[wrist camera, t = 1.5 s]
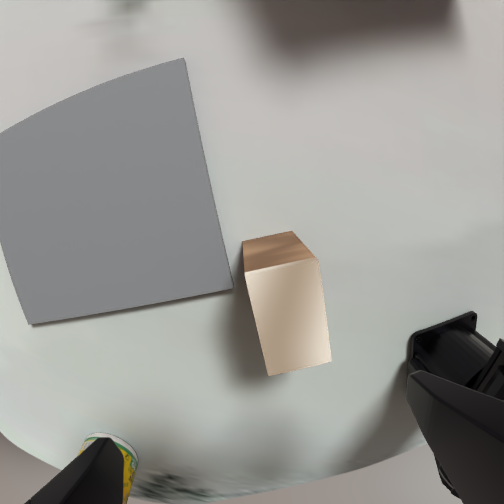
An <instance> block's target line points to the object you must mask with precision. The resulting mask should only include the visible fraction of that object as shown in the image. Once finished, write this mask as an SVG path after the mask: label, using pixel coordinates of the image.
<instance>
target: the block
mask: <svg viewBox="0 0 504 504" xmlns="http://www.w3.org/2000/svg"><path fill="white" fill-rule="evenodd" d="M242 244H243V258H244V272H245V279H246V284H247V288H248V292H249V297H250V301H251V305H252V309H253V314H254V318H255V322H256V326H257V331H258V335H259V339H260V343H261V348H262V352H263V356H264V360H265V364H266V368H267V373H268V376H272V375H276V374H281V373H286V372H290V371H295V370H299V369H303V368H307V367H312V366H316V365H320V364H324V363H327V362H331V361H332V360H331V351H330V342H329V334H328V326H327V318H326V310H325V303H324V295H323V288H322V281H321V275H320V268H319V261H318V259H317V258H316V257H315V256H314V255H313V254H312V253H311V251H310V250H309V249H308V248H307V247H306V246H305V245H304V244H303V243H302V241H301V240H300V239H299V238H298V237H297V236H296V235H295V234H294V233H293V231H289V232H284V233H279V234H275V235H270V236H265V237H261V238H256V239H251V240H247V241H242Z"/></svg>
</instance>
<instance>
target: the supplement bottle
mask: <svg viewBox="0 0 504 504" xmlns="http://www.w3.org/2000/svg"><path fill="white" fill-rule="evenodd" d="M99 437H110V438H111V439H112V440H113V441H114V442H115V444H116V445H117V446H118V448H119V449H120V451H121V452H122V454H123V456H124V490H123V504H127V500H128V497H129V493H130V489H131V485H132V482H133V478H134V475H135V471H136V468H137V464H138V458H137V455H136V453H135V451H134V450H133V448H132V447H131V446H130V445H129V444H127V443H126V442H125V441H123V440H121V439H120V438H118V437H115V436H113V435H110V434H106V433H93V434H91V435H89V436H88V437H87V438H86V439H85V441H84V443H83V446H82V448H81V450H80V452H79V454H78V455H80V454H81V453H82V452H83V451H84V450H85V449H86V448H87V447H88V446H89V445H90V444H92V443H93V442H94V441H95V440H96V439H97V438H99Z"/></svg>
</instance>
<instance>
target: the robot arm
mask: <svg viewBox="0 0 504 504" xmlns="http://www.w3.org/2000/svg"><path fill="white" fill-rule="evenodd" d="M471 317H472V318H471ZM476 322H477V314H476V313H475V312H473V311H470V312H468V313H465V314H463V315H460V316H458V317H455V318H453V319H450V320H447V321H445V322H442V323H439V324H437V325H434V326H431V327H429V328H426V329H423V330H420V331H417V332H415V333H414V334H413V335H412V337H411V353H410V360H409V362H408V376H407V393H406V396H407V400H408V403H409V405H410V407H411V409H412V411H413V414H414V416H415V418H416V420H417V422H418V424H419V427H420V429H421V431H422V433H423V435H424V437H425V439H426V441H427V443H428V445H429V446H430V448H431V450H432V451H433V453H434V456H435V460H436V464H437V468H438V471H439V475H440V478H441V481H442V483H443V484H444V485H445V486H446V487H447V488H448V489H449V490H450V491H451V493H452V494H453V495H454V496H456V497H458V498H460V499H461V500H462V502H463V504H504V340H503V339H501V338H500V339H499V341H498V343H497V345H496V346H497V347H496V346H494V345H493V344H492V343H491V342H489V341H488V340H487V339H485V338H484V337H483V336H482V335H480V334H479V333H478V332H476V331H475V330H476ZM418 337H419V338H418ZM417 338H418V339H417ZM416 339H417V340H416ZM123 490H124V456H123V454H122V452H121V451H120V449H119V448H118V446H117V445H116V444H115V442H114V441H113V440H112V439H111V438H110V437H99V438H97V439H96V440H95V441H94V442H93V443H92V444H90V445H89V446H88V447H87V448H86V449H85V450H84V451H83V452H82V453H81V454H80V455H78V456H77V457H76V458H75V459H74V460H73V461H72V462H71V463H70V464H69V465H67V466H66V467H65V468H64V469H63V470H62V471H61V472H60V473H59V474H57V475H56V476H55V477H54V478H53V479H52V480H51V481H50V482H49V483H47V484H46V485H45V486H44V487H43V488H42V489H41V490H40V491H38V492H37V493H36V494H35V495H34V496H33V497H31V500H30V499H29V500H28V501H27V502H26V503H25V504H123Z"/></svg>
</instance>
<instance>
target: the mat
mask: <svg viewBox="0 0 504 504" xmlns="http://www.w3.org/2000/svg"><path fill="white" fill-rule="evenodd" d="M0 242H1V246H2V250H3V253H4V257H5V260H6V263H7V267H8V270H9V273H10V276H11V279H12V282H13V285H14V288H15V291H16V293H17V296H18V299H19V302H20V304H21V307H22V309H23V312H24V314H25V317H26V319H27V322H28V324H36V323H42V322H49V321H55V320H62V319H68V318H74V317H80V316H86V315H92V314H98V313H104V312H110V311H116V310H121V309H127V308H133V307H138V306H144V305H149V304H155V303H160V302H165V301H171V300H176V299H181V298H186V297H191V296H197V295H202V294H207V293H212V292H217V291H222V290H227V289H232V288H234V284H233V280H232V276H231V271H230V267H229V263H228V259H227V254H226V250H225V246H224V242H223V237H222V233H221V228H220V224H219V220H218V215H217V211H216V206H215V202H214V197H213V193H212V188H211V184H210V179H209V175H208V170H207V165H206V161H205V156H204V151H203V147H202V142H201V137H200V132H199V128H198V123H197V118H196V113H195V108H194V103H193V98H192V93H191V88H190V83H189V78H188V73H187V68H186V63H185V60H184V58H181V59H177V60H173V61H169V62H166V63H162V64H159V65H155V66H152V67H149V68H146V69H142V70H139V71H136V72H133V73H130V74H127V75H124V76H122V77H119V78H116V79H113V80H111V81H108V82H105V83H103V84H100V85H97V86H95V87H92V88H90V89H88V90H85V91H83V92H80V93H78V94H76V95H73V96H71V97H69V98H67V99H65V100H62V101H60V102H58V103H56V104H54V105H52V106H50V107H48V108H46V109H44V110H42V111H40V112H38V113H36V114H34V115H32V116H30V117H28V118H26V119H24V120H23V121H21V122H19V123H17V124H15V125H14V126H12V127H10V128H8V129H7V130H5V131H3V132H2V133H0Z"/></svg>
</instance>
